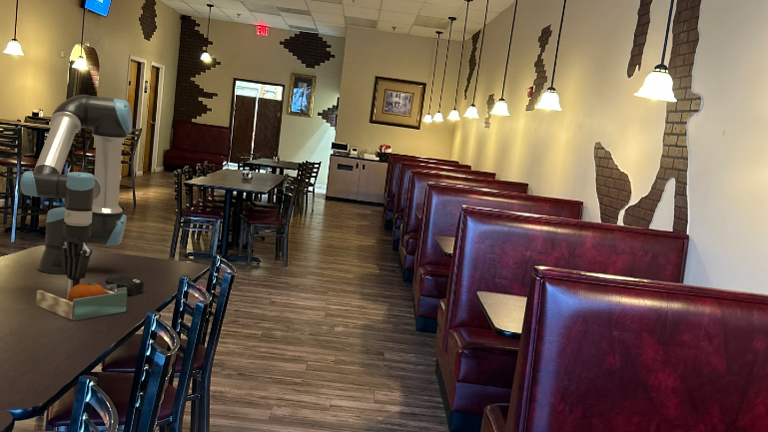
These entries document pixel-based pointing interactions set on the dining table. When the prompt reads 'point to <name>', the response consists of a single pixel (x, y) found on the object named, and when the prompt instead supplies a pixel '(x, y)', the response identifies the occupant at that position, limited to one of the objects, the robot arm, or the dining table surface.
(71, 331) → the dining table surface
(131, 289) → the rock
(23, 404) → the dining table surface
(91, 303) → the bay
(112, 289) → the dark grey bracket
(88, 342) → the dining table surface
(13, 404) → the dining table surface
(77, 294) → the fruit
